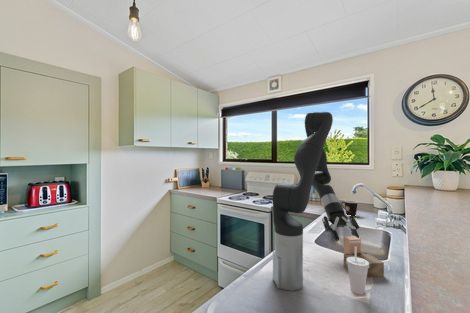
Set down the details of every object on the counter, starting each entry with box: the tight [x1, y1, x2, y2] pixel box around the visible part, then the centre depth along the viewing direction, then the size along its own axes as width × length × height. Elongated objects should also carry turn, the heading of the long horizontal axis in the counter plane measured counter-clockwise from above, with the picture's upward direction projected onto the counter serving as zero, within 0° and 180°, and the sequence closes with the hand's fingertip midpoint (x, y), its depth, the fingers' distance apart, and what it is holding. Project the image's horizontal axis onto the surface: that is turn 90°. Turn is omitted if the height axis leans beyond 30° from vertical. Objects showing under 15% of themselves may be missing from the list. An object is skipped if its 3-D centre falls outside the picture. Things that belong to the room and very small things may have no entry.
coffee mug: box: [340, 200, 359, 217], centre depth 163 cm, size 12×9×10 cm
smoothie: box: [346, 246, 369, 295], centre depth 70 cm, size 6×6×14 cm
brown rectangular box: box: [343, 252, 385, 278], centre depth 82 cm, size 10×8×5 cm
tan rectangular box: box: [343, 235, 362, 255], centre depth 88 cm, size 5×4×10 cm
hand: (347, 239), depth 91 cm, fingers open, 8 cm apart
